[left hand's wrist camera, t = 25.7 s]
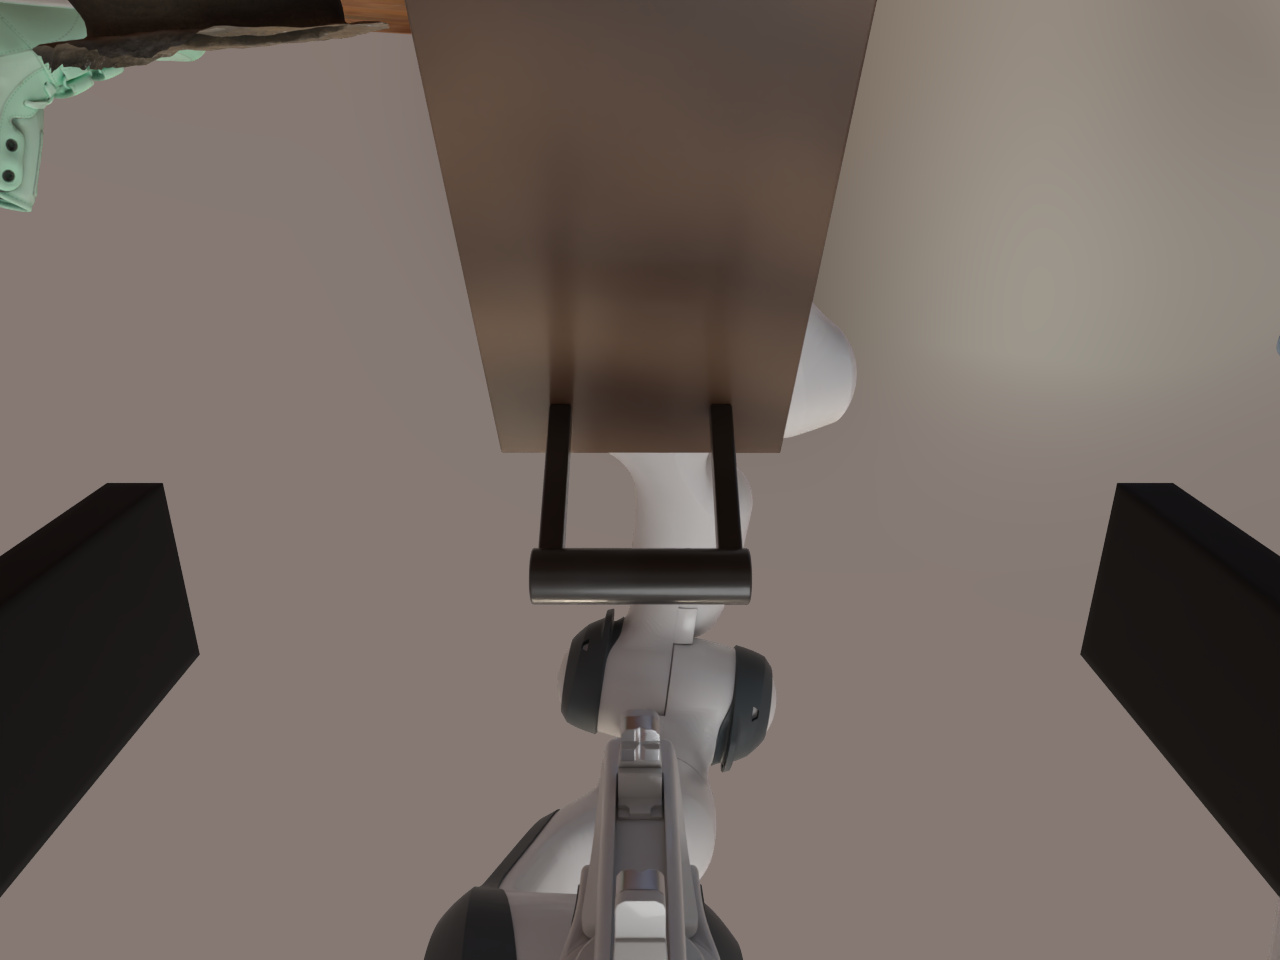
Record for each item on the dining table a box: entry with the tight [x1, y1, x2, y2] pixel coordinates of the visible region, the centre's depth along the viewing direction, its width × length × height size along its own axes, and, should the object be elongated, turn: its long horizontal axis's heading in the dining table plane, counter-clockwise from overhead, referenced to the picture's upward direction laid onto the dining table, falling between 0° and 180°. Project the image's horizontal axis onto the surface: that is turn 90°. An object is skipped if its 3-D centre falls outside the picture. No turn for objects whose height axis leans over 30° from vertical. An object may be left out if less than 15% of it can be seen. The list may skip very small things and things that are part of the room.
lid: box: [405, 0, 877, 605], centre depth 23 cm, size 16×10×8 cm
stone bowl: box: [32, 0, 389, 73], centre depth 68 cm, size 25×25×9 cm
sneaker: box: [0, 0, 205, 212], centre depth 87 cm, size 14×34×20 cm, turn 41°
